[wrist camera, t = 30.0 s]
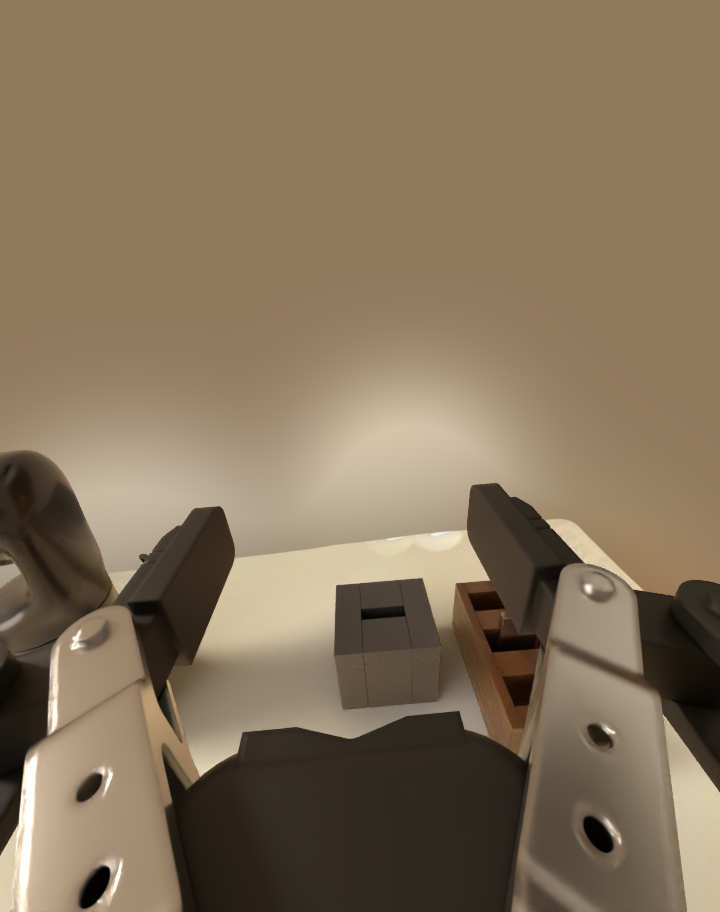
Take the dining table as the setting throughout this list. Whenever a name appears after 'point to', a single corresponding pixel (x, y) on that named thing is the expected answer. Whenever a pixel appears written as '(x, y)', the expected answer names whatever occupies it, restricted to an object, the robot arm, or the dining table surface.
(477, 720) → the dining table surface
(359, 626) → the knife block
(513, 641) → the chef knife
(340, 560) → the dining table surface
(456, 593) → the knife rack
